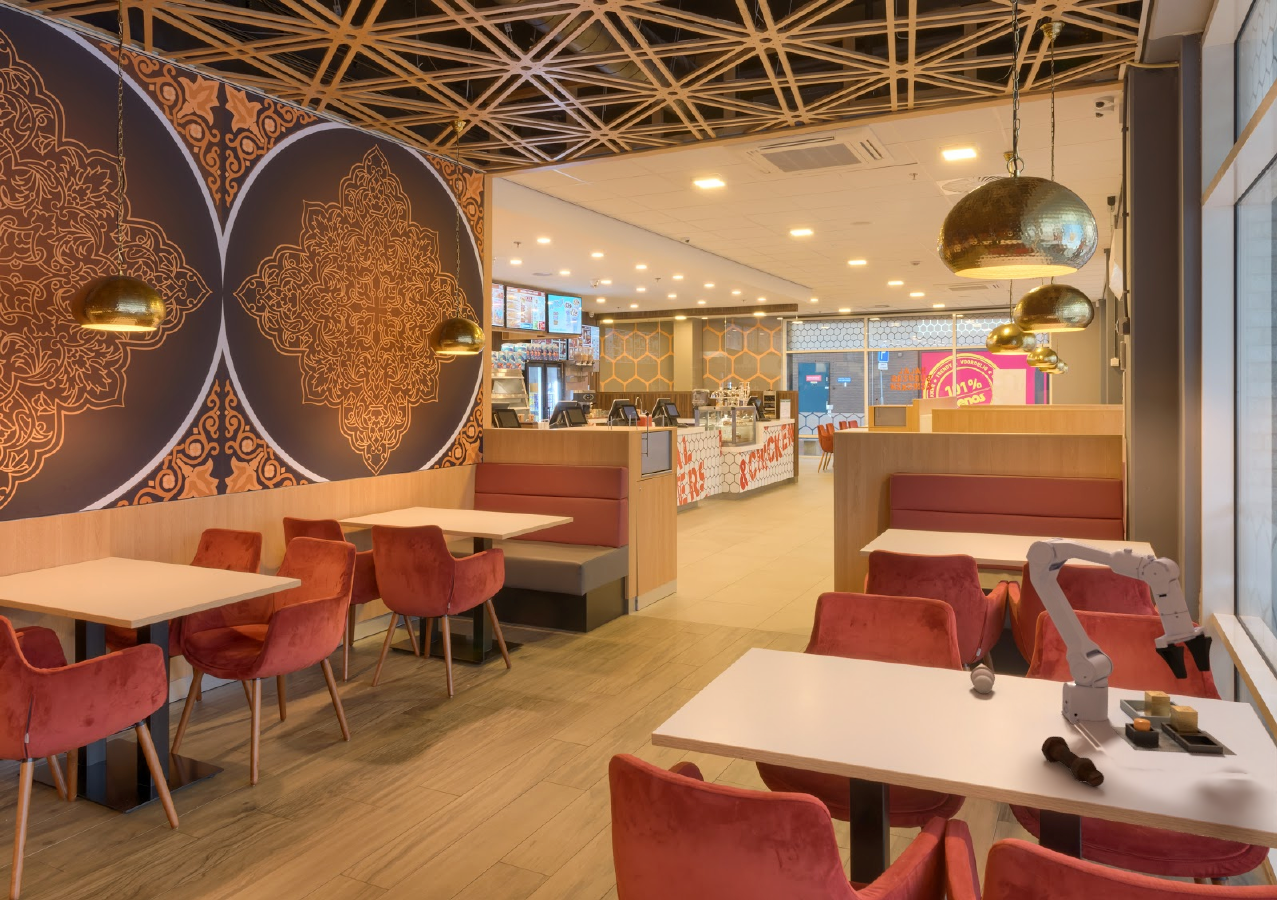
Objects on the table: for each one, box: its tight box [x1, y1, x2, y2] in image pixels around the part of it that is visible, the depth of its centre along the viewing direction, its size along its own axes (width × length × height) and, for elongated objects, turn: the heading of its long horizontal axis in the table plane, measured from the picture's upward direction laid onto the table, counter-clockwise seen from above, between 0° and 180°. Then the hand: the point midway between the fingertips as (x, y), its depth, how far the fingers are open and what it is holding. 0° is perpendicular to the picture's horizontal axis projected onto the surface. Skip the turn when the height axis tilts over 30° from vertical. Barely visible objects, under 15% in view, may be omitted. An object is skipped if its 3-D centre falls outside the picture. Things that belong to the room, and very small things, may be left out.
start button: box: [1133, 718, 1150, 731], centre depth 194 cm, size 3×3×2 cm
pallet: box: [1110, 722, 1237, 756], centre depth 193 cm, size 20×14×4 cm
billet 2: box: [1170, 705, 1199, 733], centre depth 196 cm, size 4×4×6 cm
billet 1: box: [1143, 690, 1171, 717], centre depth 207 cm, size 4×4×6 cm
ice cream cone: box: [969, 663, 996, 695], centre depth 234 cm, size 6×6×15 cm
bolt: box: [1041, 735, 1105, 788], centre depth 178 cm, size 6×5×15 cm
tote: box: [1119, 698, 1180, 727], centre depth 207 cm, size 12×12×3 cm
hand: (1193, 674), depth 191 cm, fingers open, 7 cm apart
